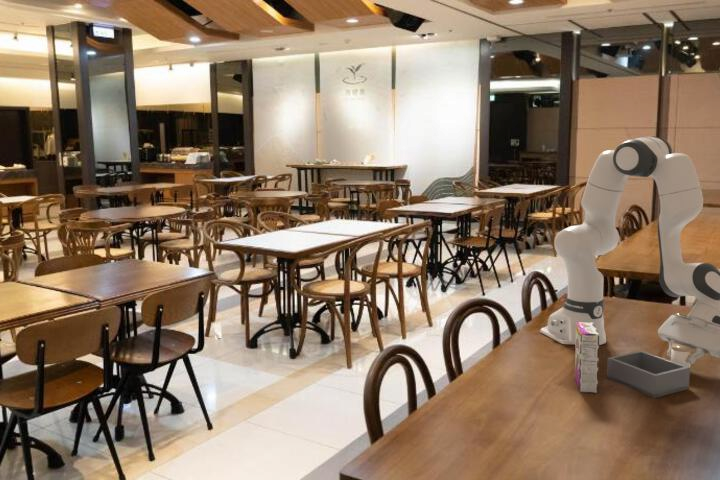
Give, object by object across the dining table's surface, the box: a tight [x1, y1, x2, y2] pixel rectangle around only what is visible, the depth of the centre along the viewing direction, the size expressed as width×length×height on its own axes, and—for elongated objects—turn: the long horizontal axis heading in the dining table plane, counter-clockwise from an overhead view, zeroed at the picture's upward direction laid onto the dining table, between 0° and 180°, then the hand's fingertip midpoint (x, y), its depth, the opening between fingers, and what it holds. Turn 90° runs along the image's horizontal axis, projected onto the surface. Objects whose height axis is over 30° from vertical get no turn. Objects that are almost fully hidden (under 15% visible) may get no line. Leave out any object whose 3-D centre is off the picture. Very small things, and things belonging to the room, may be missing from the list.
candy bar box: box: [574, 322, 600, 394], centre depth 177 cm, size 11×5×16 cm, turn 168°
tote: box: [606, 350, 691, 399], centre depth 178 cm, size 16×13×6 cm
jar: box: [670, 344, 692, 368], centre depth 185 cm, size 5×5×8 cm
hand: (679, 358), depth 185 cm, fingers closed on jar, 5 cm apart
